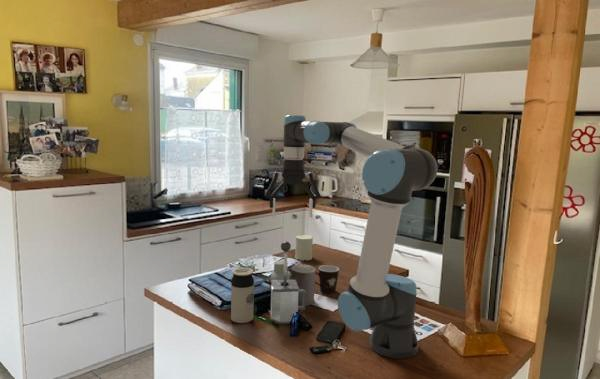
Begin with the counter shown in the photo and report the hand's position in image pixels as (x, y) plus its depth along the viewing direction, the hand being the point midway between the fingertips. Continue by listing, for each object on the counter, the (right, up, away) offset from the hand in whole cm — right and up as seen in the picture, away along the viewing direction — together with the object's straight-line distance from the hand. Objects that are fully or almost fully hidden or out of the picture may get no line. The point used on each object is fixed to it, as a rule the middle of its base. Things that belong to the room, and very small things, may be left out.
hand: (292, 216), depth 157 cm
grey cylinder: (+4, -35, +14) cm, 38 cm away
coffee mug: (+13, -33, +26) cm, 44 cm away
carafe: (-2, -37, -1) cm, 37 cm away
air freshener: (-6, -32, +32) cm, 46 cm away
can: (+5, -27, +71) cm, 76 cm away
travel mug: (-18, -37, -3) cm, 41 cm away
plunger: (-3, -26, -3) cm, 27 cm away
